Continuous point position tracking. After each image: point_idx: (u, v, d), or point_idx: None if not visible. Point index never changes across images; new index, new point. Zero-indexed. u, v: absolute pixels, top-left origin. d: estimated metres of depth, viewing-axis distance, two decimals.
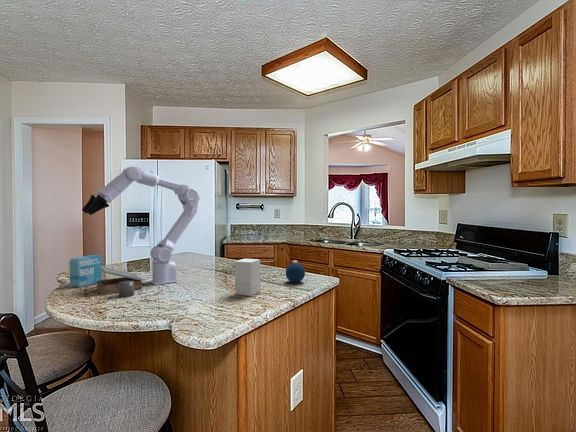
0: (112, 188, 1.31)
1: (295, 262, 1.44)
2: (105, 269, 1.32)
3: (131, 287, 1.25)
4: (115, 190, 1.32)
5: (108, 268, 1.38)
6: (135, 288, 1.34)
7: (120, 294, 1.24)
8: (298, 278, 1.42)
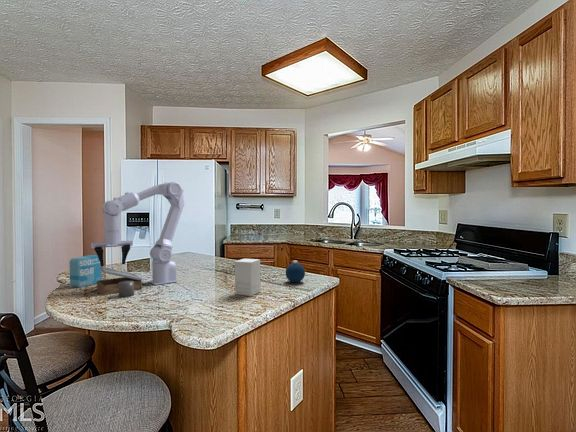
0: None
1: (295, 262, 1.44)
2: (105, 269, 1.32)
3: (131, 287, 1.25)
4: None
5: (108, 268, 1.38)
6: (135, 288, 1.34)
7: (120, 294, 1.24)
8: (298, 278, 1.42)
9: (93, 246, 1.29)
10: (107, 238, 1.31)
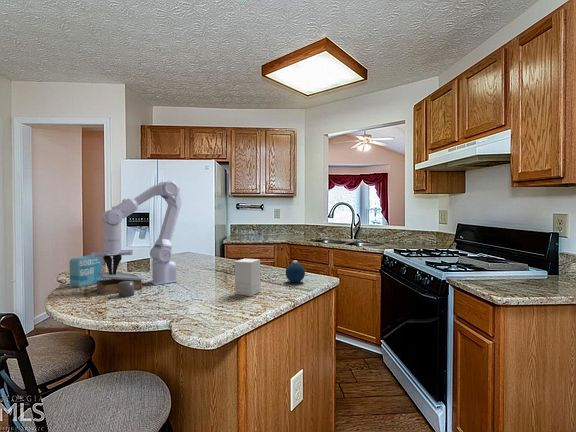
0: None
1: (295, 262, 1.44)
2: (103, 274, 1.31)
3: (131, 287, 1.25)
4: None
5: (107, 272, 1.38)
6: (135, 288, 1.34)
7: (120, 294, 1.24)
8: (298, 278, 1.42)
9: (93, 256, 1.29)
10: (107, 247, 1.31)
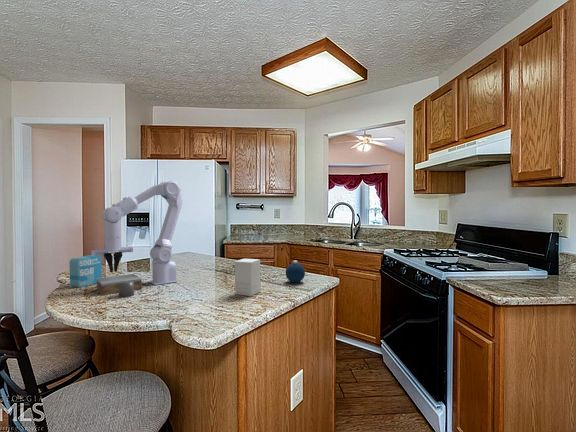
0: (120, 240, 1.34)
1: (295, 262, 1.44)
2: (102, 281, 1.31)
3: (131, 287, 1.25)
4: None
5: (106, 277, 1.38)
6: (135, 288, 1.34)
7: (120, 294, 1.24)
8: (298, 278, 1.42)
9: (93, 253, 1.29)
10: (108, 245, 1.31)
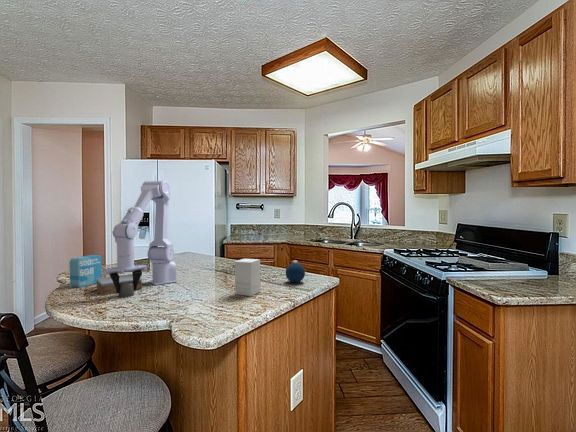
0: (133, 257, 1.26)
1: (295, 262, 1.44)
2: (102, 281, 1.31)
3: (131, 287, 1.25)
4: None
5: (106, 277, 1.38)
6: None
7: (120, 294, 1.24)
8: (298, 278, 1.42)
9: (106, 273, 1.21)
10: (121, 263, 1.23)
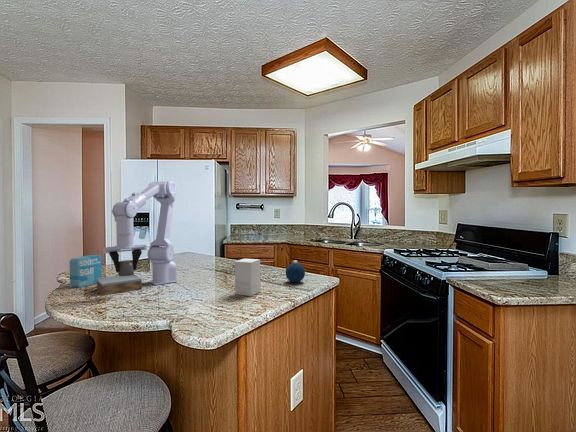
0: (133, 236, 1.26)
1: (295, 262, 1.44)
2: (102, 281, 1.31)
3: (131, 266, 1.25)
4: None
5: (106, 277, 1.38)
6: (135, 288, 1.34)
7: (120, 273, 1.23)
8: (298, 278, 1.42)
9: (105, 251, 1.20)
10: (120, 242, 1.23)
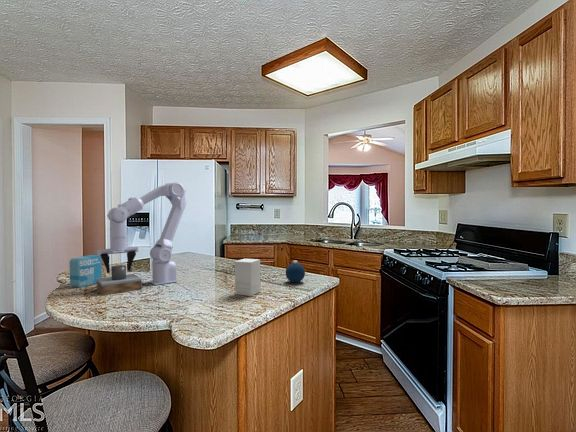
0: (125, 239, 1.36)
1: (295, 262, 1.44)
2: (102, 281, 1.31)
3: (123, 270, 1.34)
4: None
5: (106, 277, 1.38)
6: (135, 288, 1.34)
7: (113, 277, 1.33)
8: (298, 278, 1.42)
9: (99, 253, 1.30)
10: (113, 245, 1.32)
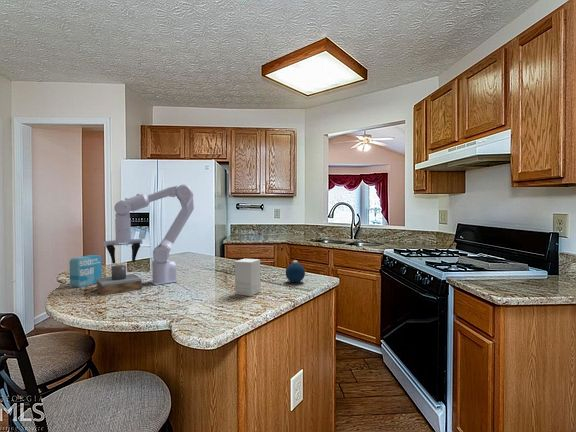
0: (130, 232, 1.41)
1: (295, 262, 1.44)
2: (102, 281, 1.31)
3: (124, 270, 1.34)
4: None
5: (106, 277, 1.38)
6: (135, 288, 1.34)
7: (113, 277, 1.33)
8: (298, 278, 1.42)
9: (105, 244, 1.36)
10: (119, 236, 1.38)
